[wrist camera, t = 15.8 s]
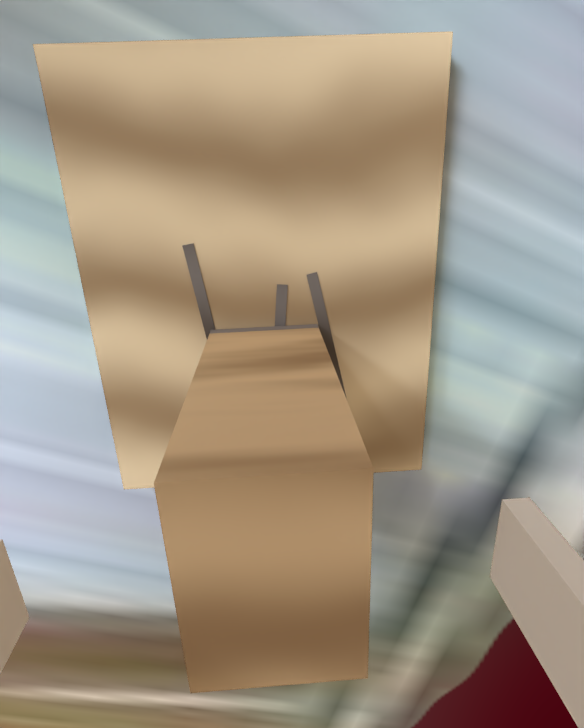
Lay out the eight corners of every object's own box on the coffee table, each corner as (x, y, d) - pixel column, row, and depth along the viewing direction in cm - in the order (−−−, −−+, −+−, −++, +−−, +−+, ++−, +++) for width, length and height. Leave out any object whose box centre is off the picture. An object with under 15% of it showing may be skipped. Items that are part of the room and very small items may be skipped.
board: (46, 52, 18) (32, 43, 17) (441, 40, 19) (453, 31, 18) (129, 476, 26) (123, 490, 24) (414, 457, 26) (421, 469, 25)
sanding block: (210, 330, 22) (153, 482, 10) (317, 323, 22) (373, 468, 11) (224, 458, 24) (190, 693, 13) (319, 452, 24) (367, 677, 13)
